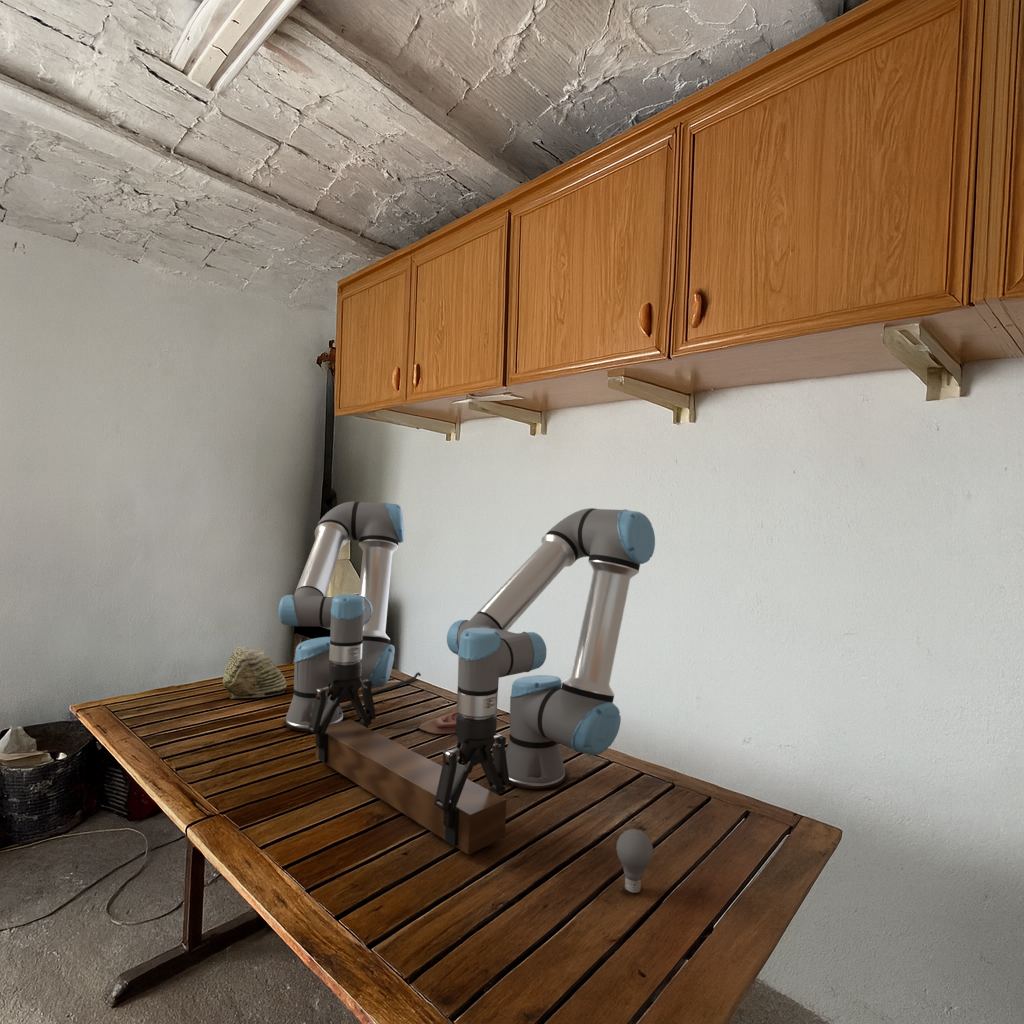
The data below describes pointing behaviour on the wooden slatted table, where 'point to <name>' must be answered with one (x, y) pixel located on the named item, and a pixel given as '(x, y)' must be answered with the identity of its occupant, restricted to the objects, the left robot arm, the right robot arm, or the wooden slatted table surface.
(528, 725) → the right robot arm
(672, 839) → the wooden slatted table surface
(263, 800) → the wooden slatted table surface
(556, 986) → the wooden slatted table surface
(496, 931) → the wooden slatted table surface
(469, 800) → the beam
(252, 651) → the fossil
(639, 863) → the light bulb
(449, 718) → the anatomical model
